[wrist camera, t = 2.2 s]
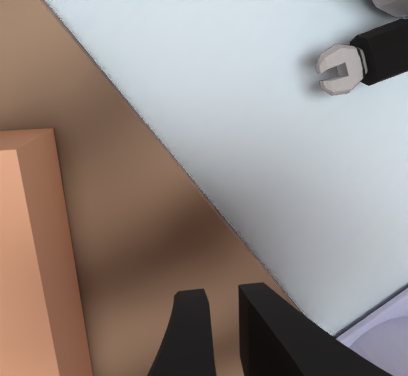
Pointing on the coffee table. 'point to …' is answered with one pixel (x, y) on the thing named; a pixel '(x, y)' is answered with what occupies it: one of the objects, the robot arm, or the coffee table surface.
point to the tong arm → (37, 263)
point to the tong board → (121, 201)
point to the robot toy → (369, 53)
